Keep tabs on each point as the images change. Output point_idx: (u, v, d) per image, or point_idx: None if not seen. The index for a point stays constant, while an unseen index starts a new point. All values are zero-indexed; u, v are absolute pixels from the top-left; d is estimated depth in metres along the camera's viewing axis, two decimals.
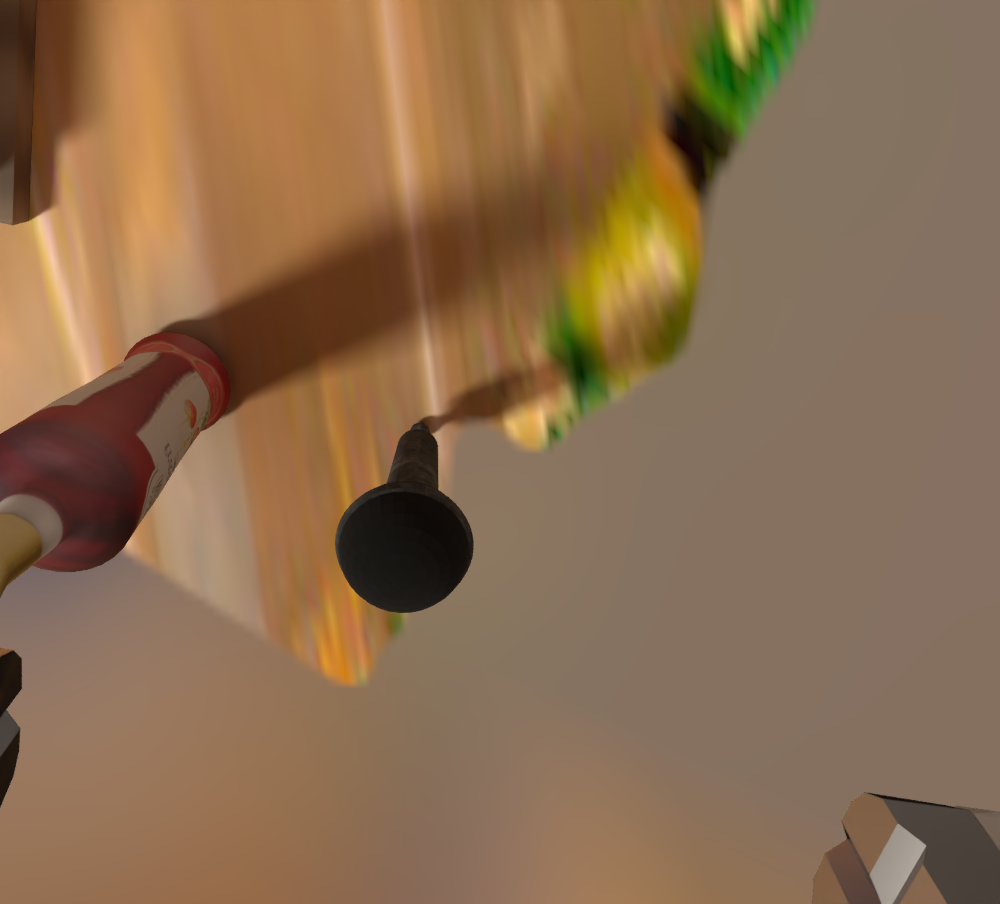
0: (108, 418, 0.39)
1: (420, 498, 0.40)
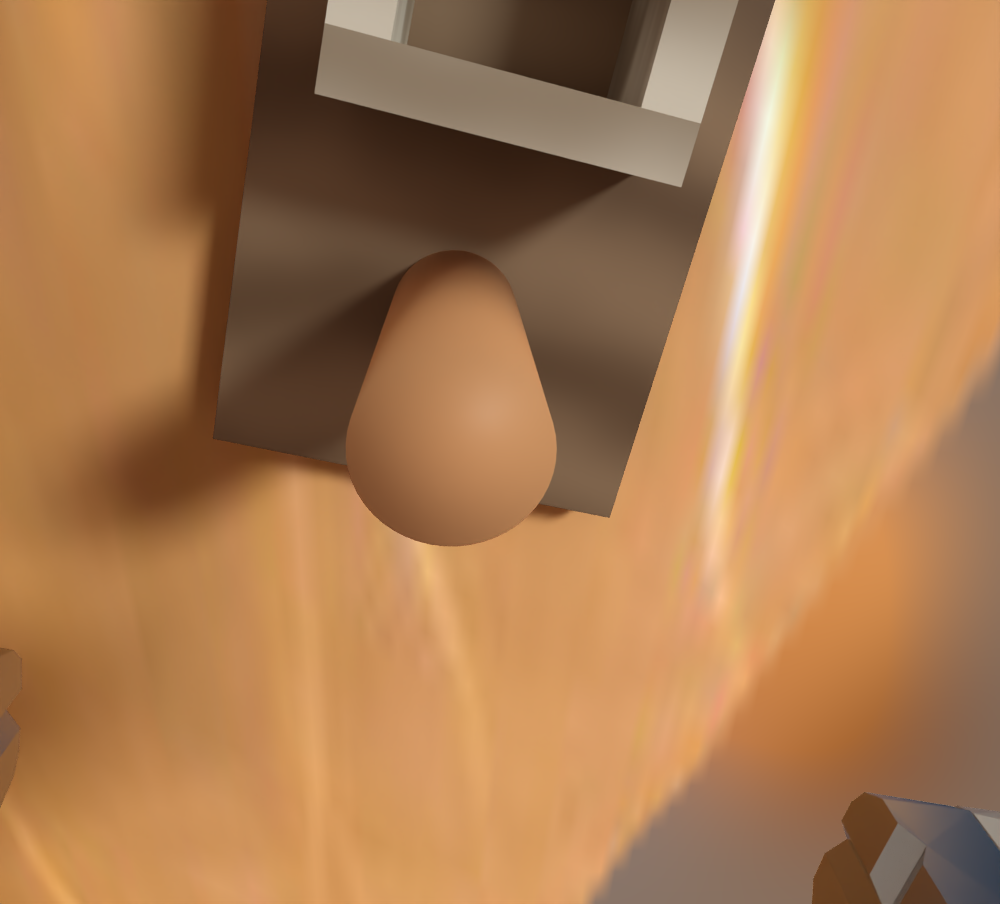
0: None
1: None
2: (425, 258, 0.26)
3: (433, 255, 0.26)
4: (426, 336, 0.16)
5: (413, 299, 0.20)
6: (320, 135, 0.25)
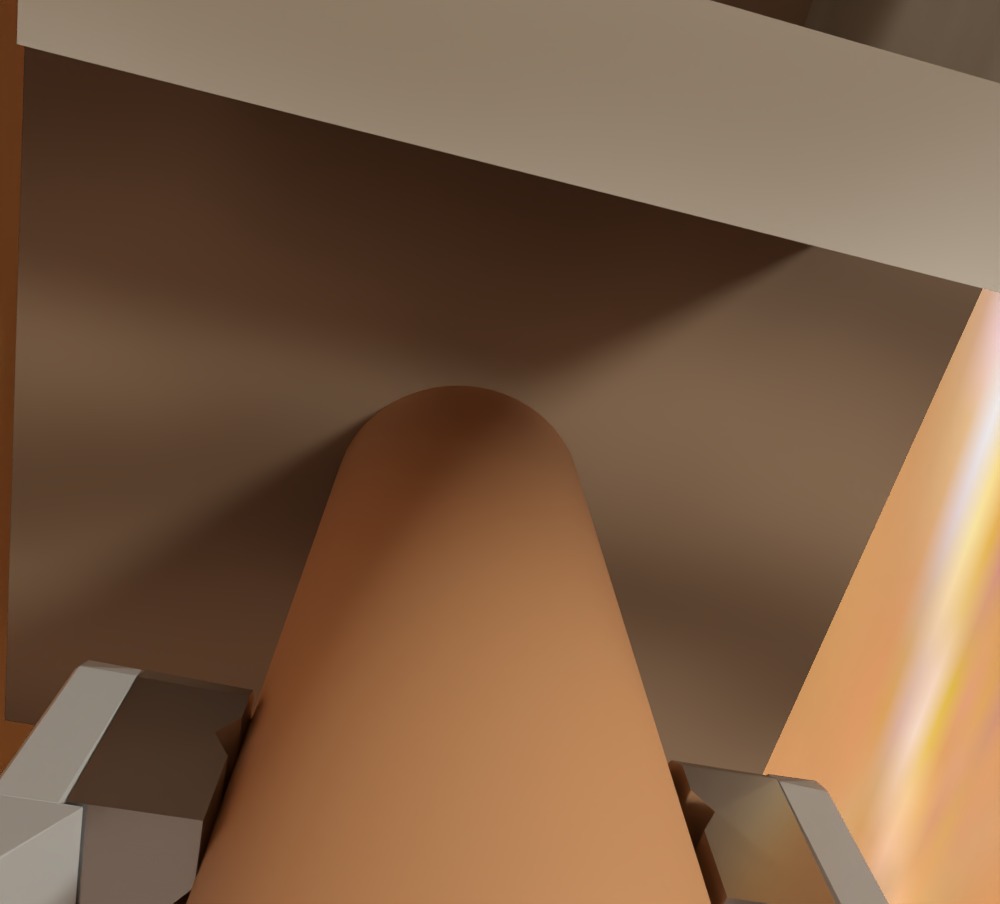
0: None
1: None
2: (399, 405, 0.13)
3: (415, 400, 0.13)
4: None
5: (341, 634, 0.07)
6: (171, 154, 0.12)
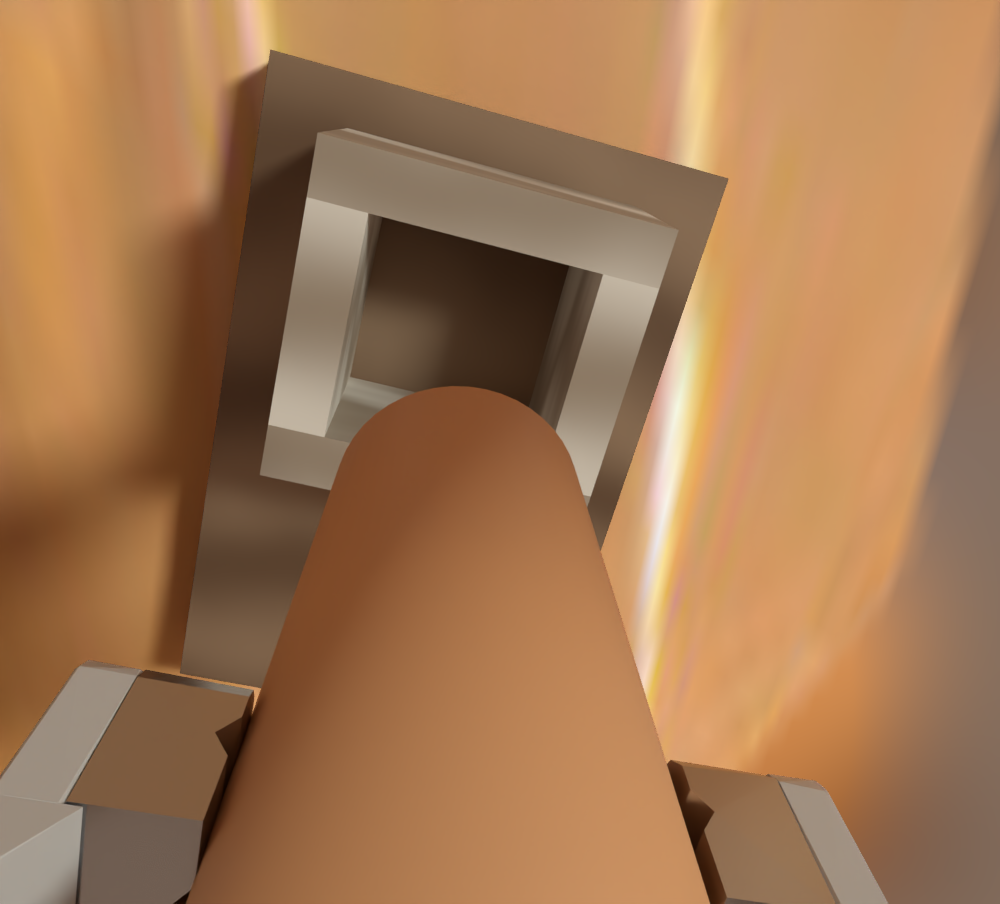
0: None
1: None
2: (398, 406, 0.13)
3: (414, 401, 0.13)
4: None
5: (339, 635, 0.07)
6: None
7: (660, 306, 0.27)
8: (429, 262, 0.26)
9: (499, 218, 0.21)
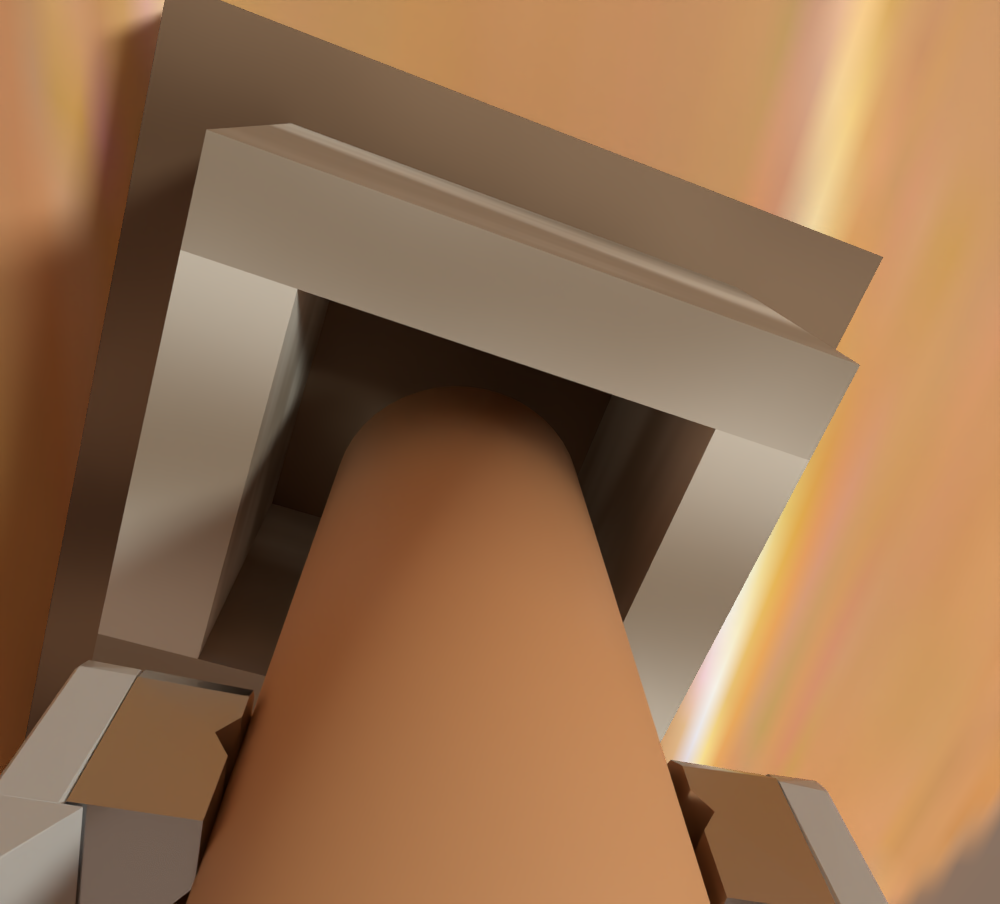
0: None
1: None
2: (398, 406, 0.13)
3: (414, 401, 0.13)
4: None
5: (339, 635, 0.07)
6: None
7: None
8: (407, 344, 0.17)
9: (541, 318, 0.11)
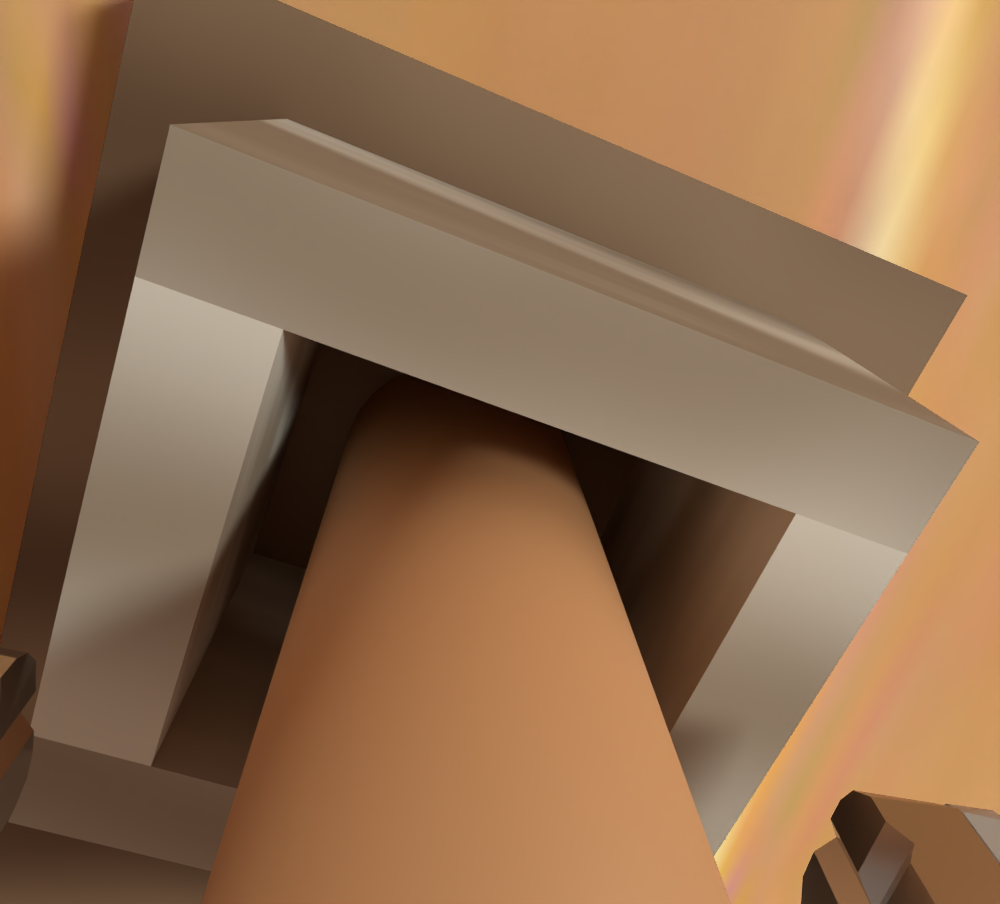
0: None
1: None
2: (403, 378, 0.14)
3: None
4: None
5: (366, 550, 0.09)
6: None
7: None
8: None
9: (589, 374, 0.09)
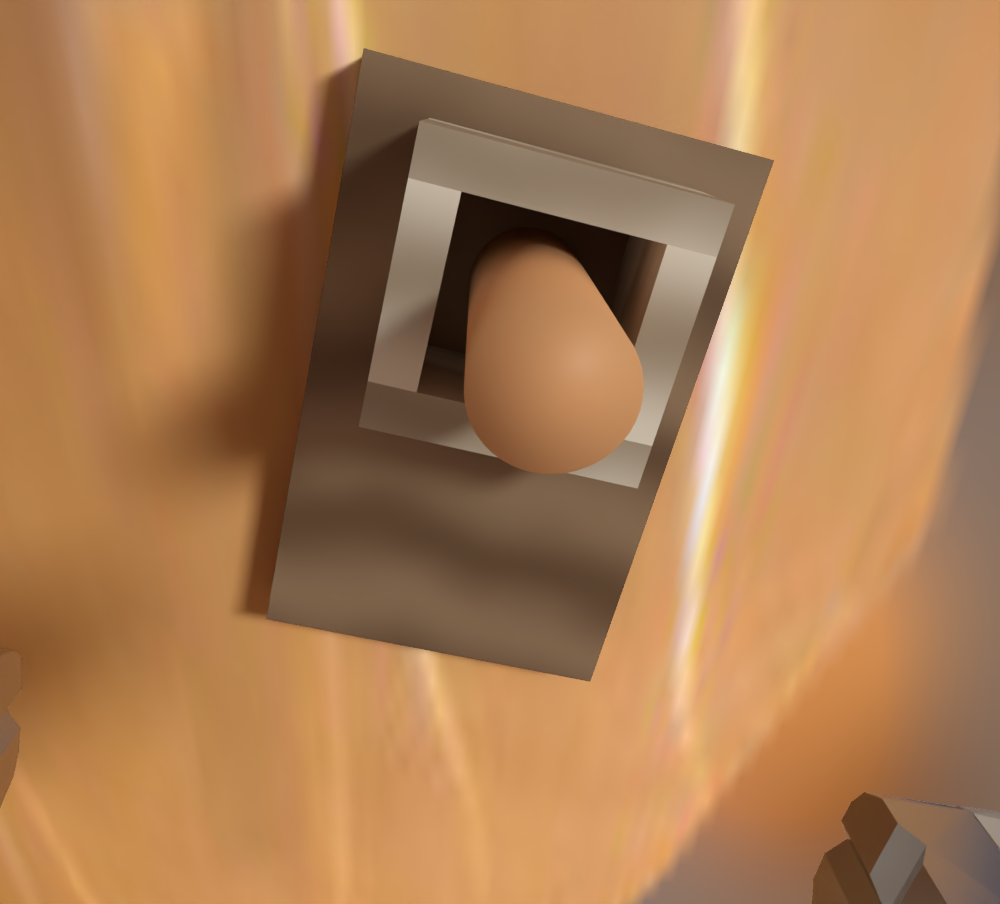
0: None
1: None
2: (495, 238, 0.29)
3: (502, 234, 0.29)
4: (520, 296, 0.19)
5: (496, 271, 0.23)
6: (358, 400, 0.31)
7: (710, 278, 0.30)
8: None
9: (576, 195, 0.23)
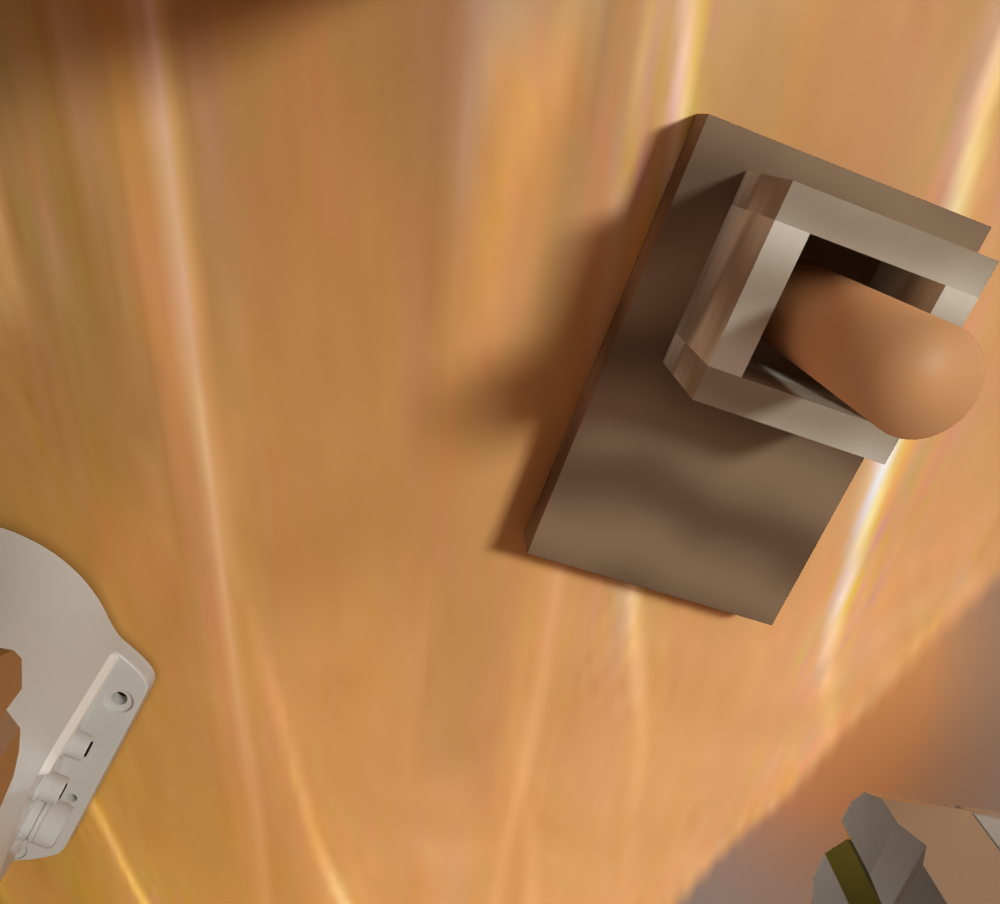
0: None
1: None
2: None
3: None
4: (899, 314, 0.28)
5: (830, 293, 0.32)
6: (642, 381, 0.39)
7: None
8: None
9: (890, 243, 0.32)
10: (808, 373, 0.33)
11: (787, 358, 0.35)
